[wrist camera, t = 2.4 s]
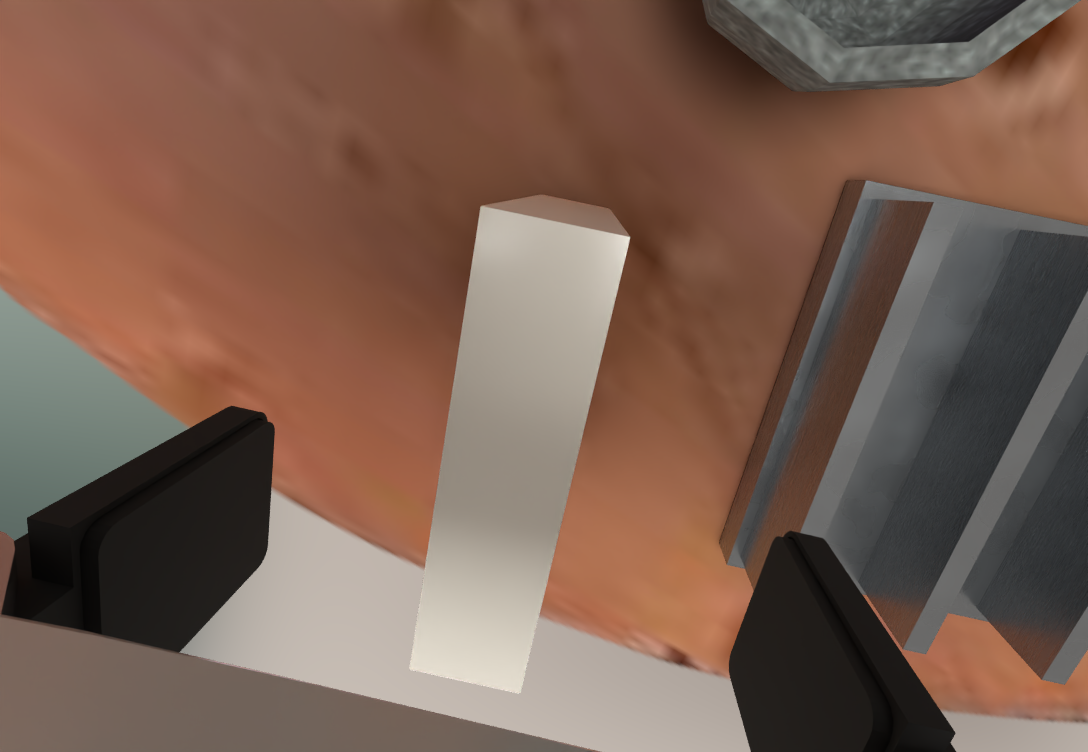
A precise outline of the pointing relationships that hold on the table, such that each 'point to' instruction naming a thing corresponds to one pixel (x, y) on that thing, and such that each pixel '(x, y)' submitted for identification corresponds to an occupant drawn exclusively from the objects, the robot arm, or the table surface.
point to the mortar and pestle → (877, 38)
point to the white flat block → (514, 431)
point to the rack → (937, 422)
